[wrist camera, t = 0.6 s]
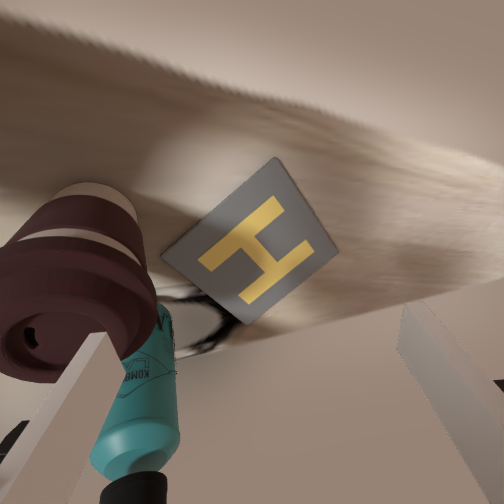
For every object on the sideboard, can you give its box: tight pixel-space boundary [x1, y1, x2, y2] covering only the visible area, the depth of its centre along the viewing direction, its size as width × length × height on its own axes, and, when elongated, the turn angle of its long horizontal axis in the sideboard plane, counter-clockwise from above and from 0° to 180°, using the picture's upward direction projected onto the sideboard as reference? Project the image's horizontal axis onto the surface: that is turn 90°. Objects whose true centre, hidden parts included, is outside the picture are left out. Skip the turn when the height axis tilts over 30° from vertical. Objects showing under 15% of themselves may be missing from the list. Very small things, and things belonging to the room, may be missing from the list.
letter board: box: [161, 157, 339, 326], centre depth 34 cm, size 16×16×1 cm
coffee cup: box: [0, 182, 158, 383], centre depth 21 cm, size 10×10×15 cm
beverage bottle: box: [90, 302, 180, 504], centre depth 25 cm, size 6×7×20 cm
